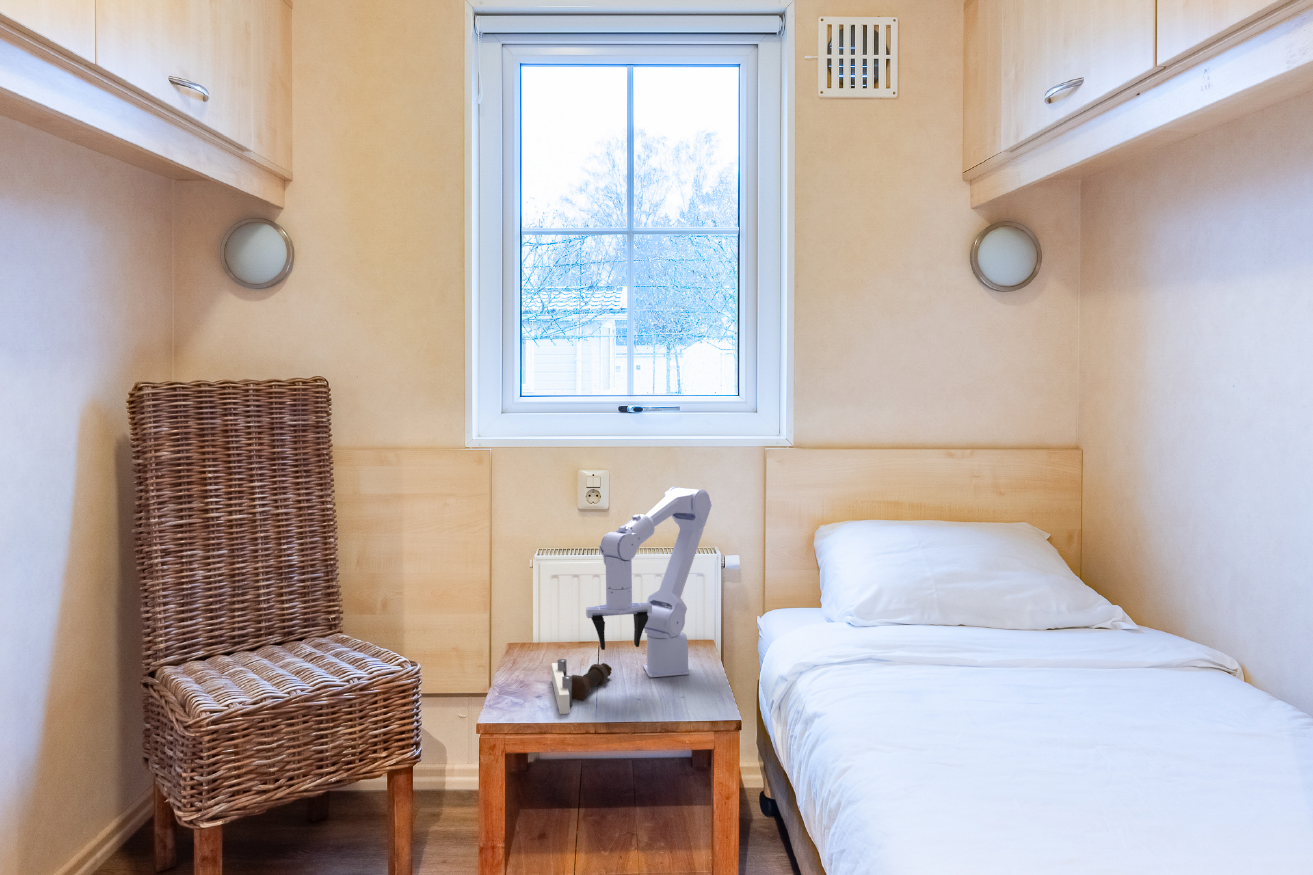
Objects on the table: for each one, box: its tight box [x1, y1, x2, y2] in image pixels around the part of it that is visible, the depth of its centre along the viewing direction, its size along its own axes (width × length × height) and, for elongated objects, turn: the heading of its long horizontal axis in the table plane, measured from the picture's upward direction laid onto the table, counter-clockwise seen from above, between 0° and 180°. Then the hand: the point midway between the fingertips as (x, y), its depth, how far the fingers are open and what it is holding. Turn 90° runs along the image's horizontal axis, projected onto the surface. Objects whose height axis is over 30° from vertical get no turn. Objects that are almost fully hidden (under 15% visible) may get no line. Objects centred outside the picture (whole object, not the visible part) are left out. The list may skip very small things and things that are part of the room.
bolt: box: [570, 662, 613, 702], centre depth 183 cm, size 6×5×15 cm
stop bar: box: [551, 658, 573, 715], centre depth 178 cm, size 3×20×6 cm, turn 12°
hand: (619, 646), depth 182 cm, fingers open, 7 cm apart
